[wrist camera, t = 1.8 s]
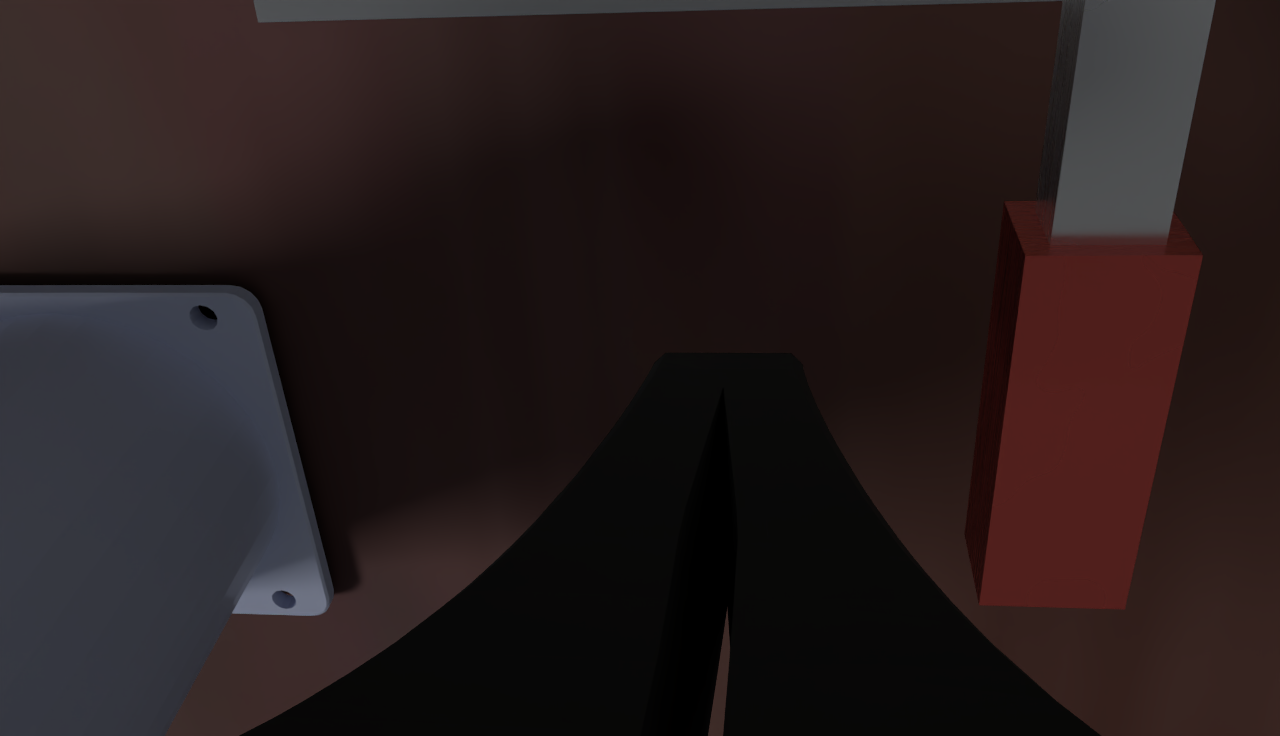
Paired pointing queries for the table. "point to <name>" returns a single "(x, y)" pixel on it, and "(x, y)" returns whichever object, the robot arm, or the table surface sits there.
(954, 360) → the table surface
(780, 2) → the valve on pipe
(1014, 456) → the valve lever
